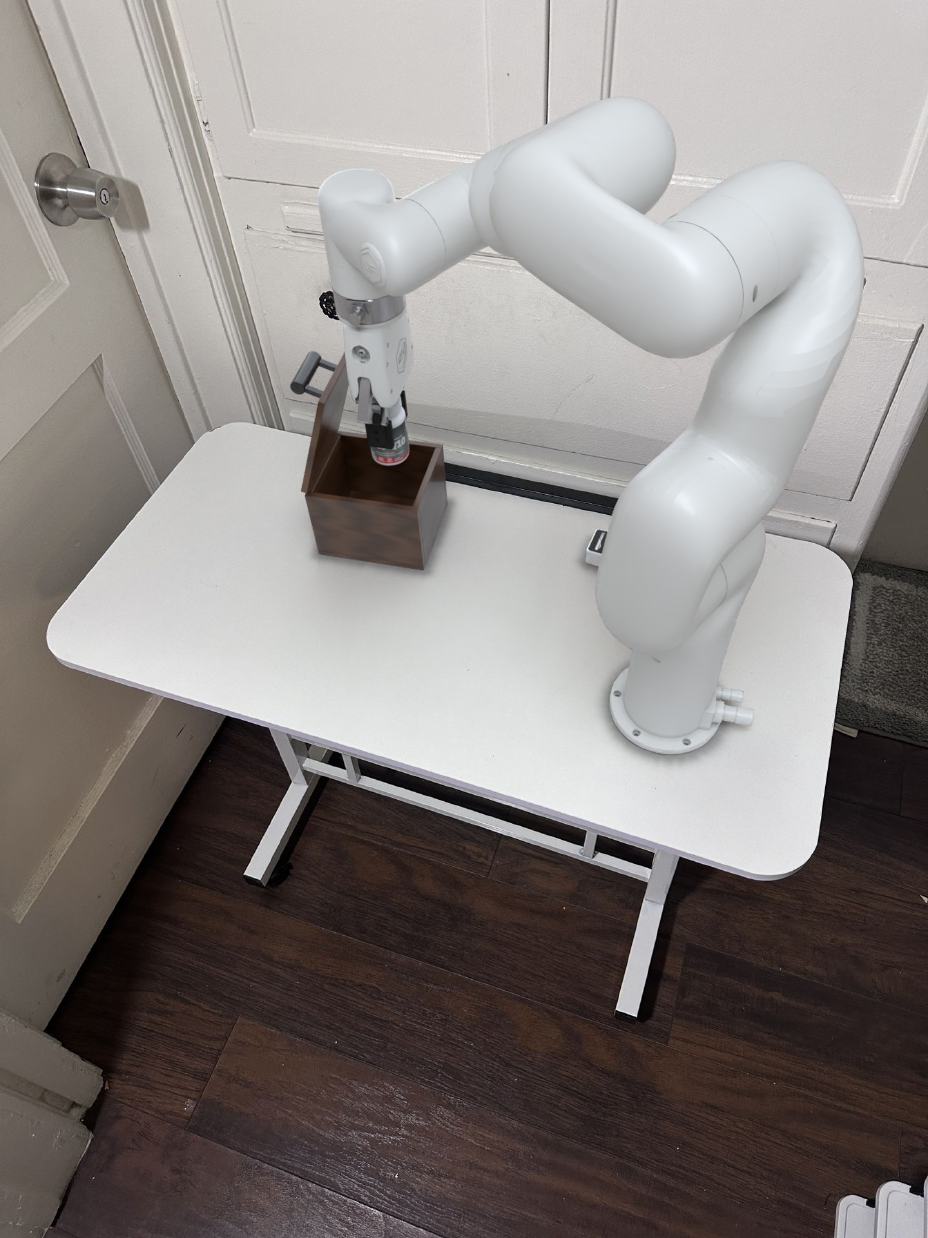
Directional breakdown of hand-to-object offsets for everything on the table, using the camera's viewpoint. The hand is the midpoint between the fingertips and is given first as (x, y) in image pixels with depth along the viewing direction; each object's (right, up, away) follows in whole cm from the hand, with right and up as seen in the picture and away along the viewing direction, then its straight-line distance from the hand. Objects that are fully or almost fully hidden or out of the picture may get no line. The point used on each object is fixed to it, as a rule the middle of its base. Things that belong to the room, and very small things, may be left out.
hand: (388, 430), depth 111 cm
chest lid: (-7, +2, +1) cm, 7 cm away
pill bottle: (0, -2, +3) cm, 4 cm away
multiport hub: (+32, -16, +8) cm, 37 cm away
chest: (-2, -10, +14) cm, 18 cm away
